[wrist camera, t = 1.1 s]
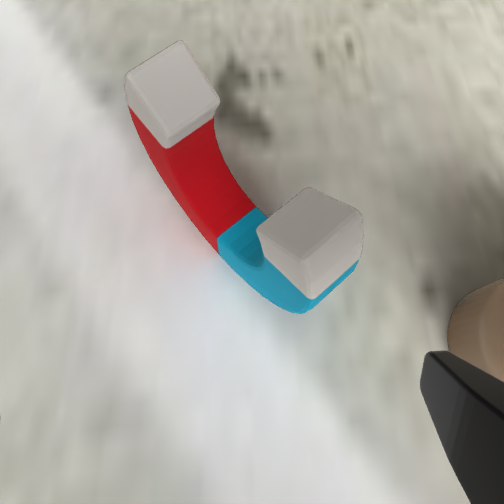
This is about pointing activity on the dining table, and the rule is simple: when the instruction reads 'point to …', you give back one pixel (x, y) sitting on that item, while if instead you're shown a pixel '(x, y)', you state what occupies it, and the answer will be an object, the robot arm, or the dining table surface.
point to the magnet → (237, 191)
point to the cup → (480, 329)
